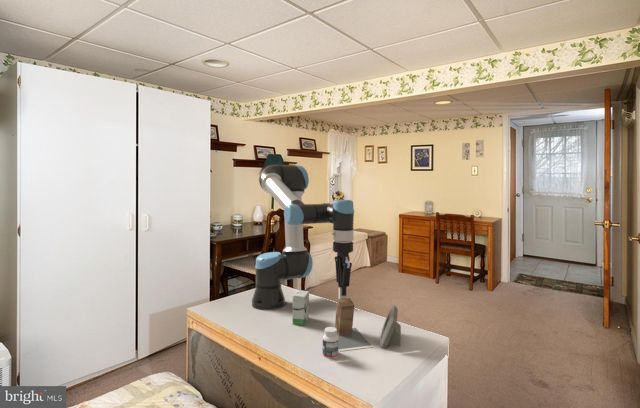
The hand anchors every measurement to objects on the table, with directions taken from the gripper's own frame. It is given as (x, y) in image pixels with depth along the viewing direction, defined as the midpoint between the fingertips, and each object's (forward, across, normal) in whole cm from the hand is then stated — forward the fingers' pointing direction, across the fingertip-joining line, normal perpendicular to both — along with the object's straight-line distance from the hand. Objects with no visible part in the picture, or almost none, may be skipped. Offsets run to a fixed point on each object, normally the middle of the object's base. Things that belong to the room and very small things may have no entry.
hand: (342, 303), depth 136 cm
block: (+10, +1, 0) cm, 10 cm away
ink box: (+11, -13, -13) cm, 22 cm away
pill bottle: (+11, +17, -10) cm, 22 cm away
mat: (+11, +7, 0) cm, 13 cm away
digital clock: (+11, +11, +14) cm, 21 cm away
